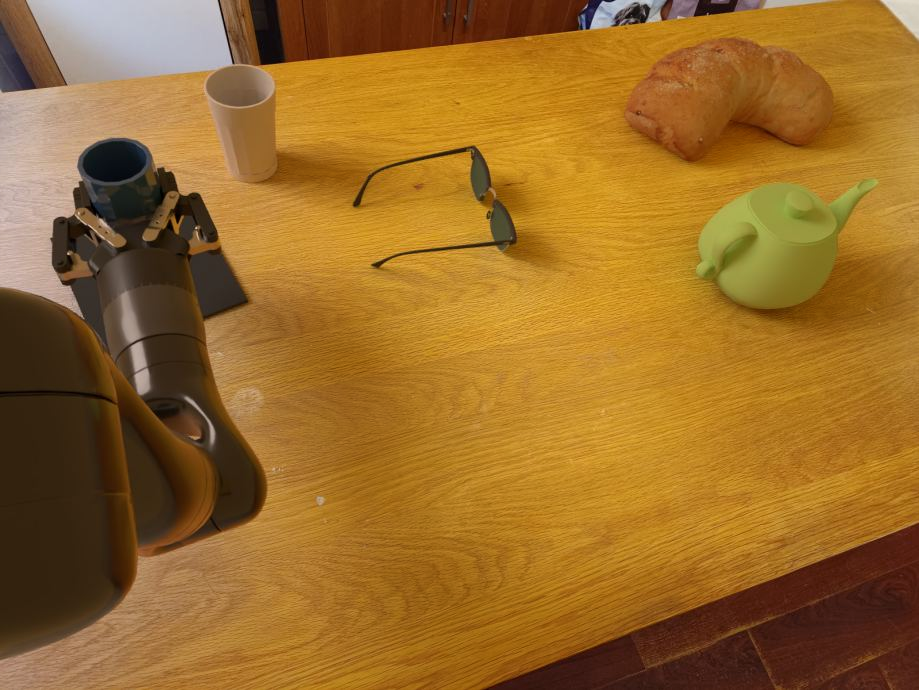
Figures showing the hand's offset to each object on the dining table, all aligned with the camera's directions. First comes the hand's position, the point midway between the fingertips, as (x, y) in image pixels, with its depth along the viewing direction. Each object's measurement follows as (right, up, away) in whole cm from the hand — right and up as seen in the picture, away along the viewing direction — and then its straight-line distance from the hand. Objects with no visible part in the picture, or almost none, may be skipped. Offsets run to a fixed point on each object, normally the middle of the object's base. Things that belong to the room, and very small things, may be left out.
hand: (124, 181), depth 70 cm
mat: (-3, -7, +14) cm, 16 cm away
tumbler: (0, -5, +4) cm, 7 cm away
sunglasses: (+28, -1, +22) cm, 36 cm away
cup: (+5, +7, +25) cm, 26 cm away
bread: (+70, +19, +42) cm, 84 cm away
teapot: (+70, -6, +24) cm, 74 cm away
